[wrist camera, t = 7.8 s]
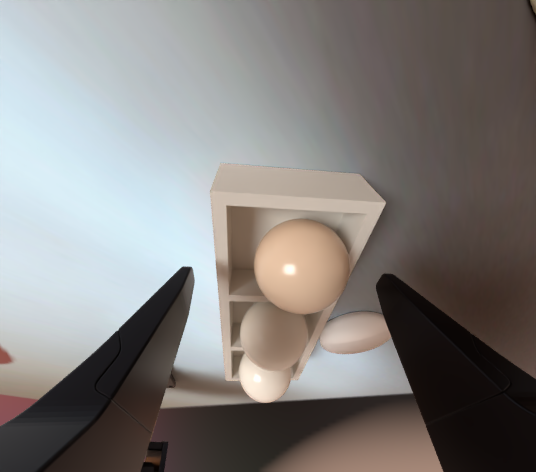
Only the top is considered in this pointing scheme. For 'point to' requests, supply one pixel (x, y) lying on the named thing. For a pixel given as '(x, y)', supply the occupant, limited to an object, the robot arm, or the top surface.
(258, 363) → the cream egg
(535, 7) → the coffee can
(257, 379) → the cream egg
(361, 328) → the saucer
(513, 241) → the top surface
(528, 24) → the top surface
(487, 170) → the top surface
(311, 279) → the brown egg
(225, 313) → the carton
